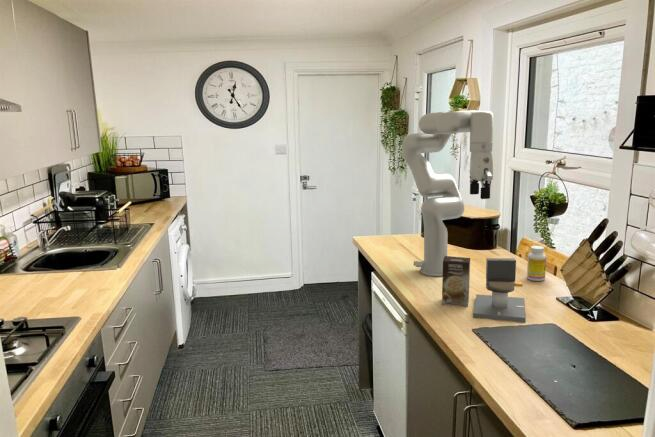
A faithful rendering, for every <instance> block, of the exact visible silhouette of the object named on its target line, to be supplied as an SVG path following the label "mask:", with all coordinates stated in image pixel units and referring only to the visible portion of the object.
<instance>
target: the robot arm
mask: <svg viewBox="0 0 655 437" xmlns="http://www.w3.org/2000/svg"><path fill="white" fill-rule="evenodd" d="M418 127H419V129H420V132H416V133H411V134H408V135H406V136H404V139H403V140H402V142H401V143H402V144H401V150H402V151H401V152H402V155H403V158H404V160H405V162H406V163H407V166H408V167H409V169H410V171H411V173H412V177H413V180H414V182H415V185H416V188H417V190H418V194H420V196H421V197H424V198H427V199H424V201H423V202H422V204H421V215H422V219H423V220H422V221H423V260H421V261H418V260H413V266H415V267H416V268H419V269H420V270H419V272H420V274H422V275H424V276H428V277H443V259H444V257H445V256H448V237H449V236H448V235H449V234H448V228H447V227H446V225H445V223H444V222H443V221H446V220H454V219H458V218H461V217H462V216H463V214H464V213H465V203H464V201H463V198H462V195H461V192H460V191H459V188H458V185H457V184H458V183H456V180H455V178H454V177H453V176H452V175H451V174H450V173H448V172H440V173H436V172H435V171H434V169H433V166H432V164H431V162H430V161H429V160H428V159H427V158H426V157H425V156H423V155H422V154H431V153H432V154H433V153H438V152H441V151H442V150H443V149H444V148H445V146H446V145H447V143H448V141H449V139H450V138H451V136H452V134H460V133H469V153H470V160H469V161H470V162H469V170H468V172H469V195H472V196H473V195H479V193H480V195H479V196H480V199H481V200H489V199H491V187H492V181H493V180H494V166H493V165H494V164H493V163H494V162H493V141H494V139H493V138H494V134H493V132H494V113H493V112H492V111H489V110H481V111H480V110H456V111H455V110H454V111H453V110H452V111H439V112H429V113H425V114H424V115H423V116H421V117H420V118H419V120H418ZM479 182H480V183H479ZM480 184H481V187H480Z"/></svg>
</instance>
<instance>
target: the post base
mask: <svg viewBox="0 0 655 437" xmlns="http://www.w3.org/2000/svg"><path fill="white" fill-rule="evenodd" d="M525 301H526V300H525V297H514V296H509V293H497V292H492V291H491V295H489V294H476V295H475V302H474V307H473V310H472V311H473V312H472V318H474V319H484V320H496V321H506V322H507V321H508V322H518V323H526V315H527V314H526V304H525Z"/></svg>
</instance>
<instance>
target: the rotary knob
mask: <svg viewBox="0 0 655 437" xmlns="http://www.w3.org/2000/svg"><path fill="white" fill-rule="evenodd" d="M485 263H486V264H485V265H486V266H485V288H486V289H487V291H490V292H491V293H492V292H497V293H508V294H509V293H512V292H514V291H515V287H521V288H522V287H523V286H524V285H523V282H518V281H517V282H516V271H517V269H516V268H517V260H516V259H515V258H511V257H510V258H508V257H507V258H505V257H504V258H500V257H498V258H497V257H495V258H493V257H492V258H491V257H490V258H487V257H486V262H485Z"/></svg>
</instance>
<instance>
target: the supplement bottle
mask: <svg viewBox="0 0 655 437" xmlns="http://www.w3.org/2000/svg"><path fill="white" fill-rule="evenodd" d="M544 249H545V248H544V246H541V245H531V247H530V251H531V252H529V253H528V255H527V266H526V267H527V268H526V269H527V270H526V272H527V273H526V278H527V279H528V280H530V281H534V282H542V281H544V280H545V279H546V267H547V266H546V265H547V255H546V254H545V253H544V252H545V250H544Z"/></svg>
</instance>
